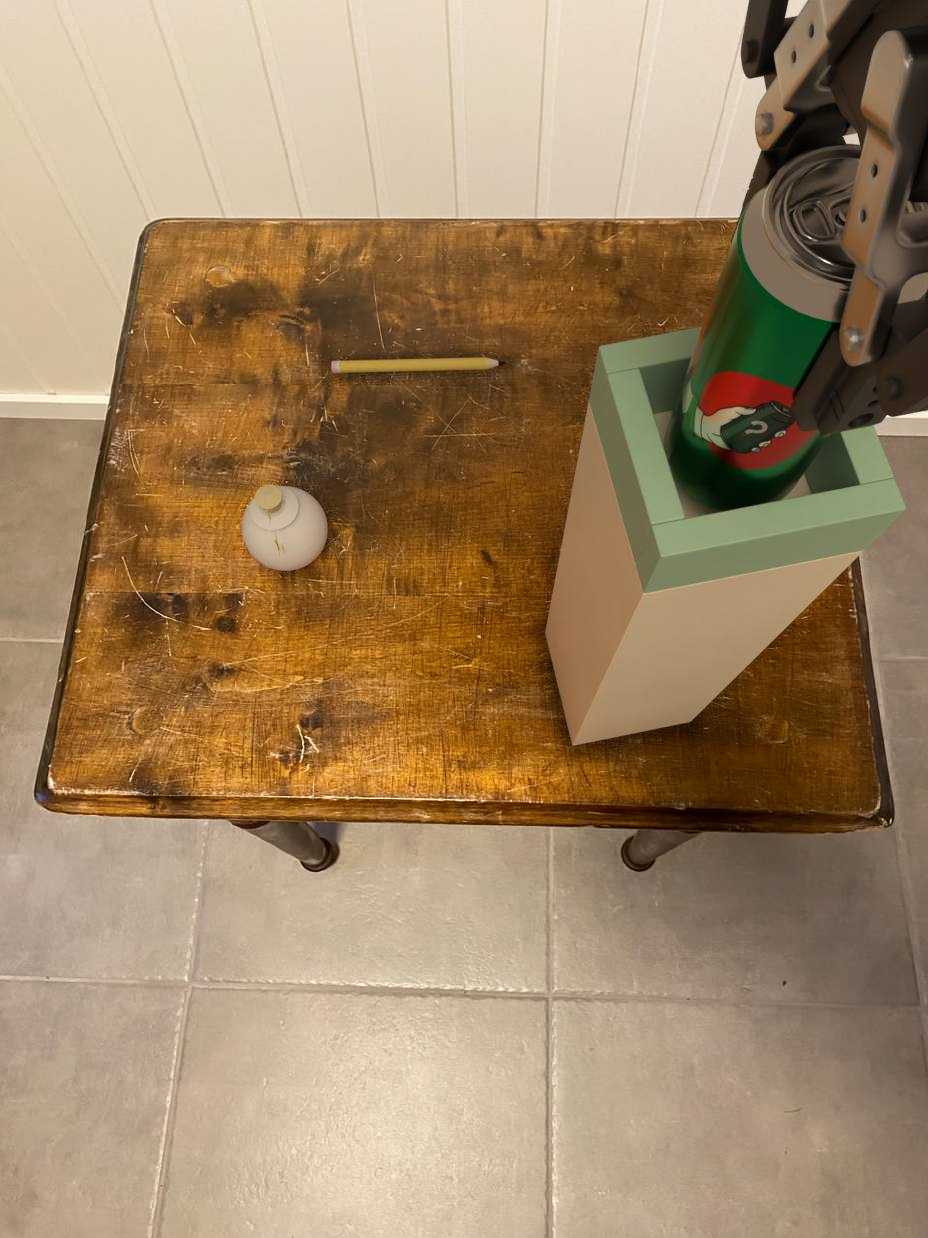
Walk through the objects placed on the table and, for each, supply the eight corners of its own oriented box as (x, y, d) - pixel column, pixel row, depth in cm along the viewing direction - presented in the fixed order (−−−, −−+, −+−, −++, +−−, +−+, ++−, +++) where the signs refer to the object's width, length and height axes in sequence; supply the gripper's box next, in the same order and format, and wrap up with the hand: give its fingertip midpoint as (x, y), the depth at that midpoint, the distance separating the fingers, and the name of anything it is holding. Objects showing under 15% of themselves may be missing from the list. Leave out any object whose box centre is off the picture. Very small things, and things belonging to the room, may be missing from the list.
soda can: (819, 502, 32) (999, 272, 20) (685, 533, 32) (791, 319, 20) (772, 385, 33) (914, 111, 22) (643, 414, 33) (720, 153, 22)
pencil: (507, 371, 71) (507, 364, 70) (333, 375, 71) (331, 368, 70) (506, 360, 71) (507, 353, 70) (333, 365, 71) (331, 357, 70)
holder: (658, 609, 64) (825, 302, 32) (690, 722, 61) (907, 508, 29) (544, 632, 63) (598, 345, 32) (572, 746, 61) (660, 557, 29)
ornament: (326, 501, 67) (299, 432, 58) (344, 590, 65) (318, 534, 55) (248, 518, 67) (208, 452, 57) (263, 608, 64) (223, 555, 55)
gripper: (2161, -327, 7) (1017, 527, 23) (1300, -946, 12) (838, 124, 28) (1302, -174, 7) (743, 582, 23) (762, -866, 12) (608, 166, 28)
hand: (796, 329), depth 26 cm, fingers closed on soda can, 5 cm apart
